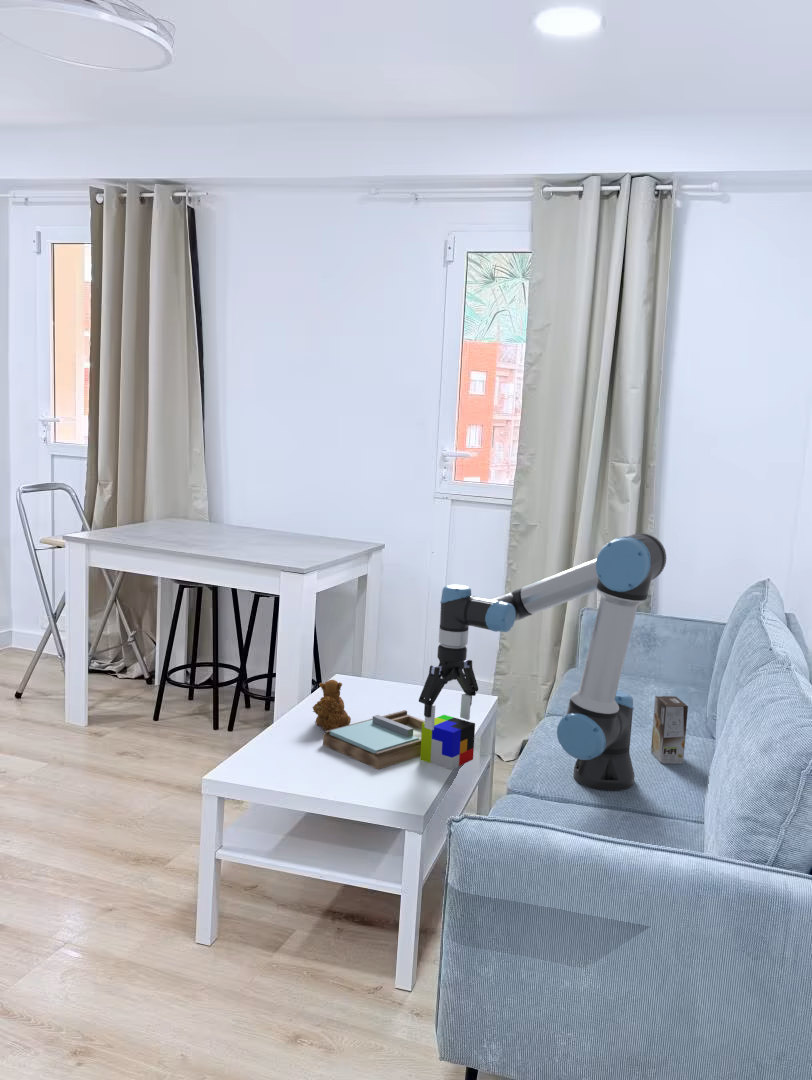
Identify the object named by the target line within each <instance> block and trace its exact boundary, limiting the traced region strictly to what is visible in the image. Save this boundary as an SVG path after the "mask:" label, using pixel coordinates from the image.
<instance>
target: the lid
mask: <svg viewBox="0 0 812 1080" xmlns="http://www.w3.org/2000/svg"><path fill="white" fill-rule="evenodd" d="M382 716H383V715H379V714H376V715H372V719H373V720H369V719H368V720H369V721H366V722H362V721H361V722H362V723H358V722H357V723H358V724H354V723H353V724H354V725H350V724H349V725H350V726H347V727H343V728H339V729H335V730H331V731H330V735H332V736H334V737H337V738H339V739H341V740H344V741H346V742H348V743H351V744H353V745H355V746H358V747H360V748H362V749H365V750H367V751H369V752H372V753H374V754H375V752H378V751H382V750H385V749H389V748H392V747H395V746H399V745H402V744H405V743H409V742H412V741H415V740H419V738H418V737H415V736H413V728H411V727H408V726H406V725H403V724H401V723H398V722H395V721H393V720H390V719H388V718H385V717H382Z"/></svg>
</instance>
